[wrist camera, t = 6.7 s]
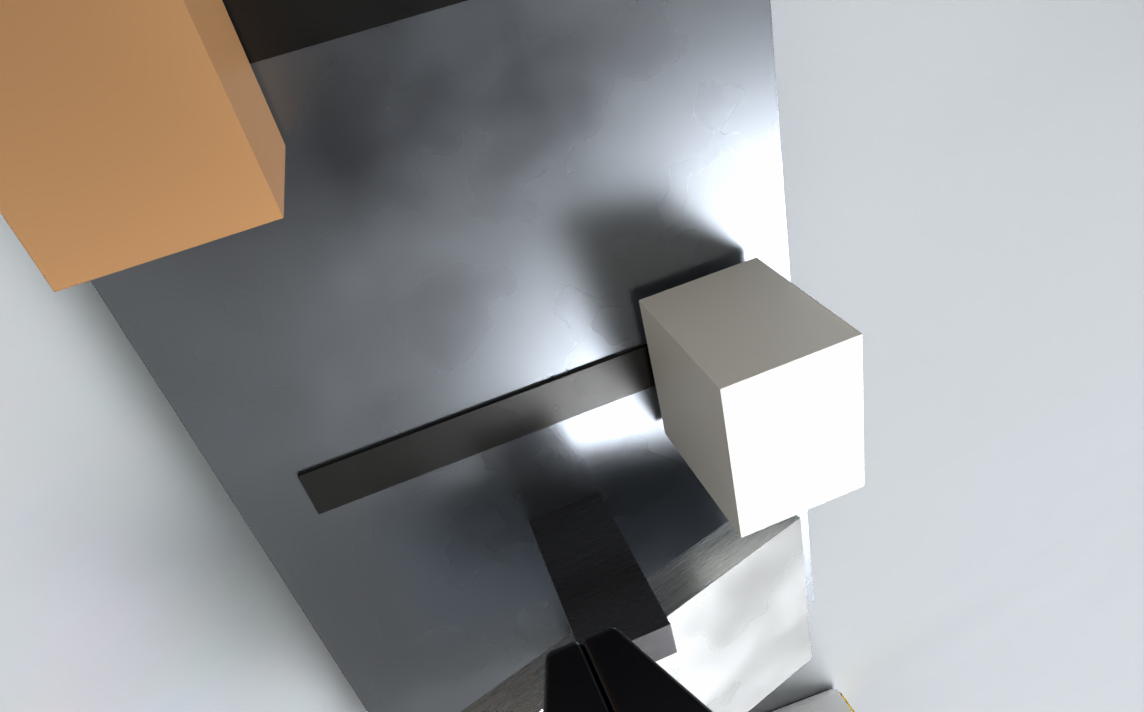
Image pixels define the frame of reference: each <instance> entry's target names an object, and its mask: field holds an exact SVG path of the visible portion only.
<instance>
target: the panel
mask: <svg viewBox="0 0 1144 712" xmlns="http://www.w3.org/2000/svg"><path fill="white" fill-rule="evenodd" d="M222 1H223V4H224V6H225V8H226V10H227V13H228V15H229V17H230V20H231V22H232V24H233V26H234V29H235V31H236V33H237V36H238V38H239V40H240V43H241V45H242V47H243V49H244V52H245V54H246V56H247V59H248V61H249V63H250V65H251V68H252V70H253V72H254V75H255V77H256V79H257V82H258V84H259V86H260V88H261V91H262V93H263V95H264V98H265V100H266V102H267V104H268V107H269V109H270V111H271V114H272V116H273V118H274V121H275V123H276V125H277V127H278V130H279V132H280V134H281V137H282V139H283V141H284V143H285V183H284V218H282V219H279V220H276V221H273V222H270V223H266V224H263V225H260V226H257V227H254V228H251V229H248V230H245V231H242V232H239V233H236V234H232V235H229V236H226V237H223V238H220V239H217V240H214V241H211V242H208V243H205V244H202V245H198V246H195V247H192V248H189V249H186V250H183V251H180V252H177V253H174V254H171V255H168V256H164V257H161V258H158V259H155V260H152V261H149V262H146V263H143V264H140V265H137V266H133V267H130V268H127V269H124V270H121V271H118V272H115V273H112V274H109V275H106V276H103V277H99V278H96V279H93V280H91V281H92V283H93V285H94V286H95V288H96V289H97V291H98V292H99V294H100V295H101V297H102V299H103V300H104V302H105V303H106V305H107V306H108V308H109V309H110V311H111V313H112V314H113V316H114V317H115V319H116V320H117V322H118V323H119V325H120V327H121V328H122V330H123V331H124V333H125V334H126V336H127V338H128V339H129V341H130V342H131V344H132V345H133V347H134V348H135V350H136V352H137V353H138V355H139V356H140V358H141V359H142V361H143V362H144V364H145V366H146V367H147V369H148V370H149V372H150V373H151V375H152V376H153V378H154V380H155V381H156V383H157V384H158V386H159V387H160V389H161V390H162V392H163V394H164V395H165V397H166V398H167V400H168V401H169V403H170V404H171V406H172V408H173V409H174V411H175V412H176V414H177V415H178V417H179V418H180V420H181V422H182V423H183V425H184V426H185V428H186V429H187V431H188V432H189V434H190V436H191V437H192V439H193V440H194V442H195V443H196V445H197V446H198V448H199V450H200V451H201V453H202V454H203V456H204V457H205V459H206V461H207V462H208V464H209V465H210V467H211V468H212V470H213V471H214V473H215V475H216V476H217V478H218V479H219V481H220V482H221V484H222V485H223V487H224V489H225V490H226V492H227V493H228V495H229V496H230V498H231V499H232V501H233V503H234V504H235V506H236V507H237V509H238V510H239V512H240V513H241V515H242V517H243V518H244V520H245V521H246V523H247V524H248V526H249V527H250V529H251V531H252V532H253V534H254V535H255V537H256V538H257V540H258V541H259V543H260V545H261V546H262V548H263V549H264V551H265V552H266V554H267V555H268V557H269V559H270V560H271V562H272V563H273V565H274V566H275V568H276V569H277V571H278V573H279V574H280V576H281V577H282V579H283V580H284V582H285V584H286V585H287V587H288V588H289V590H290V591H291V593H292V594H293V596H294V598H295V599H296V601H297V602H298V604H299V605H300V607H301V608H302V610H303V612H304V613H305V615H306V616H307V618H308V619H309V621H310V622H311V624H312V626H313V627H314V629H315V630H316V632H317V633H318V635H319V636H320V638H321V640H322V641H323V643H324V644H325V646H326V647H327V649H328V650H329V652H330V654H331V655H332V657H333V658H334V660H335V661H336V663H337V664H338V666H339V668H340V669H341V671H342V672H343V674H344V675H345V677H346V678H347V680H348V682H349V683H350V685H351V686H352V688H353V689H354V691H355V692H356V694H357V696H358V697H359V699H360V700H361V702H362V703H363V705H364V707H365V708H366V710H367V711H368V712H461V711H462V710H463V709H465V708H466V707H468V706H469V705H471V704H472V703H473V702H475V701H476V700H478V699H479V698H480V697H482V696H483V695H485V694H486V693H487V692H489V691H490V690H492V689H493V688H494V687H496V686H497V685H499V684H500V683H501V682H503V681H504V680H506V679H507V678H508V677H510V676H511V675H513V674H514V673H515V672H517V671H518V670H520V669H521V668H523V667H524V666H525V665H527V664H528V663H530V662H531V661H532V660H534V659H535V658H537V657H538V656H539V655H541V654H542V653H544V652H545V651H546V650H548V649H549V648H551V647H552V646H553V645H555V644H556V643H558V642H559V641H560V640H562V639H563V638H565V637H566V636H568V635H569V634H570V633H572V635H573V637H574V640H575V642H578V643H580V644H581V643H582V640H583V638H584V637H586V636H588V635H591V634H593V633H595V632H598V631H600V630H603V629H605V628H607V627H614V628H616V629H618V630H619V631H621V632H622V633H623V634H624V635H625V636H626V637H628V638H629V639H630V640H631V641H632V642H633V643H634V644H636V645H637V646H638V647H639V648H640V649H641V650H643V651H644V652H645V653H646V654H647V655H648V656H649V657H651V658H652V659H653V660H654V661H655V662H656V661H658V660H661V659H663V658H665V657H668V656H670V655H672V654H674V653H677V649H676V645H675V641H674V637H673V632H672V628H671V624H670V622H669V620H668V618H667V617H666V615H665V613H664V611H663V609H662V607H661V605H660V604H659V602H658V600H657V598H656V596H655V594H654V593H653V591H652V589H651V587H650V585H649V583H648V581H647V580H646V579H648V578H649V577H650V576H652V575H653V574H655V573H656V572H657V571H659V570H660V569H662V568H663V567H664V566H666V565H667V564H669V563H670V562H672V561H673V560H674V559H676V558H677V557H679V556H680V555H681V554H683V553H684V552H686V551H687V550H688V549H690V548H691V547H693V546H694V545H695V544H697V543H698V542H700V541H701V540H702V539H704V538H705V537H707V536H708V535H709V534H711V533H712V532H714V531H715V530H717V529H718V528H719V527H721V526H722V525H724V524H725V523H726V522H728V521H729V520H728V519H727V518H726V516H725V515H724V514H723V512H722V511H721V509H720V508H719V507H718V505H717V504H716V503H715V501H714V500H713V498H712V497H711V496H710V494H709V493H708V492H707V490H706V489H705V488H704V486H703V485H702V483H701V482H700V481H699V479H698V478H697V477H696V475H695V474H694V472H693V471H692V470H691V468H690V467H689V466H688V464H687V463H686V461H685V460H684V459H683V457H682V456H681V455H680V453H679V452H678V451H677V449H676V448H675V446H674V445H673V444H672V442H671V441H670V440H669V438H668V437H667V435H666V434H665V430H664V425H663V420H662V415H661V410H660V405H659V400H658V395H657V390H656V385H655V380H654V375H653V370H652V365H651V360H650V355H649V350H648V345H647V340H646V335H645V330H644V325H643V320H642V315H641V310H640V305H639V300H641V299H643V298H646V297H649V296H652V295H654V294H657V293H660V292H663V291H665V290H668V289H671V288H674V287H676V286H679V285H682V284H685V283H687V282H690V281H693V280H696V279H698V278H701V277H704V276H707V275H709V274H712V273H715V272H718V271H720V270H723V269H726V268H729V267H731V266H734V265H737V264H739V263H742V262H745V261H748V260H750V259H753V258H756V257H757V258H758V259H759V260H761V261H762V262H763V263H765V264H766V265H768V266H769V267H770V268H772V269H773V270H775V271H776V272H777V273H779V274H780V275H782V276H783V277H784V278H786V279H787V280H788V281H790V282H791V280H790V266H789V253H788V239H787V225H786V211H785V197H784V184H783V170H782V156H781V142H780V129H779V115H778V101H777V87H776V73H775V60H774V46H773V32H772V18H771V4H770V0H222ZM797 516H799V517H800V520H801V532H802V545H803V557H804V570H805V582H806V595H807V604H810V603H812V602H814V597H813V584H812V570H811V556H810V542H809V528H808V515H807V510H806V511H804V512H802V513H799V514H797ZM581 646H582V644H581Z"/></svg>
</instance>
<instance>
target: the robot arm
mask: <svg viewBox="0 0 1144 712" xmlns="http://www.w3.org/2000/svg"><path fill="white" fill-rule="evenodd" d="M581 644H582V646H581ZM581 644H580V643H578V642H572V643H569V644H567V645H564V646H562V647H560V648H557V649H555V650H552V651H550V652H549V653H548V654H547V655H546V658H545V670H544V696H543V712H713V711H712V710H711V709H709V708H708V707H707V706H706V705H705V704H704V703H702V702H701V701H700V700H699V699H698V698H697V697H696V696H694V695H693V694H692V693H691V692H690V691H689V690H687V689H686V688H685V687H684V686H683V685H682V684H681V683H679V682H678V681H677V680H676V679H675V678H674V677H672V676H671V675H670V674H669V673H668V672H667V671H666V670H664V669H663V668H662V667H661V666H660V665H659V664H658V663H656V662H655V661H654V660H653V659H652V658H651V657H649V656H648V655H647V654H646V653H645V652H644V651H643V650H641V649H640V648H639V647H638V646H637V645H636V644H634V643H633V642H632V641H631V640H630V639H629V638H628V637H626V636H625V635H624V634H623V633H622V632H621V631H619V630H618V629H616V628H614V627H607V628H605V629H603V630H600V631H598V632H595V633H593V634H591V635H588V636H586V637H584V638H583V640H582V643H581Z"/></svg>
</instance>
